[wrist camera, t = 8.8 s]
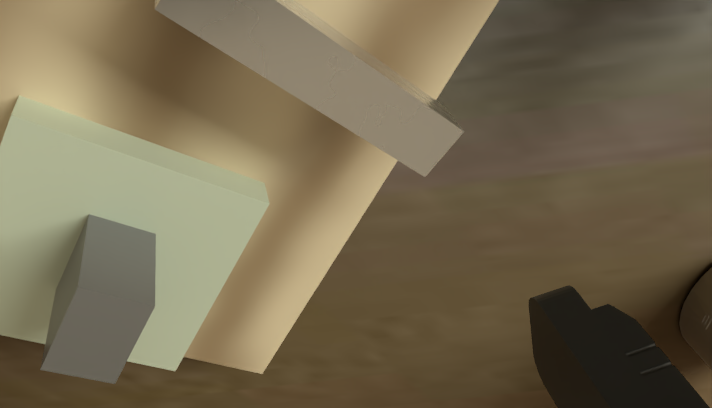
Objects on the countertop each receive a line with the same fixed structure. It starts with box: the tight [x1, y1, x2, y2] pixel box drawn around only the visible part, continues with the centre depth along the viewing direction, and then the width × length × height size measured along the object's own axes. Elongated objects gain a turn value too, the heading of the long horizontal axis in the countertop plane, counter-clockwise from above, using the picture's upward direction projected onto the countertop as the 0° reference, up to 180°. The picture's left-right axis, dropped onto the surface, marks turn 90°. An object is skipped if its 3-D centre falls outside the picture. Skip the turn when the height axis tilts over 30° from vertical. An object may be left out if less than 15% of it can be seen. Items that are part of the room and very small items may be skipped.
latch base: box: [0, 0, 499, 374], centre depth 25 cm, size 18×21×4 cm
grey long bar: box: [155, 0, 464, 177], centre depth 21 cm, size 2×10×4 cm, turn 52°
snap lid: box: [0, 95, 270, 384], centre depth 24 cm, size 9×9×6 cm
